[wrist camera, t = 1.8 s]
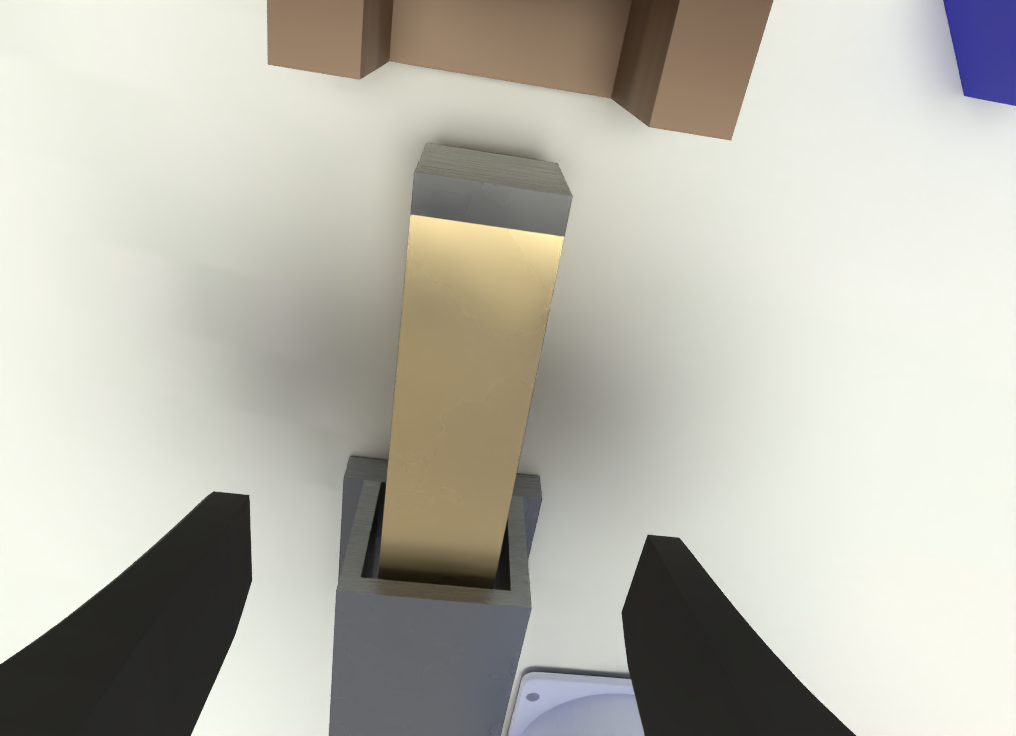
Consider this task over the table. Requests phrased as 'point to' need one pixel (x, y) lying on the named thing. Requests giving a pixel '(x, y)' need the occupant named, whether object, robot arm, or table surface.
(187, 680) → the robot arm
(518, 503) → the sleeve
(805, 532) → the table surface
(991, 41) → the cable clip
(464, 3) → the socket block
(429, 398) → the tube
